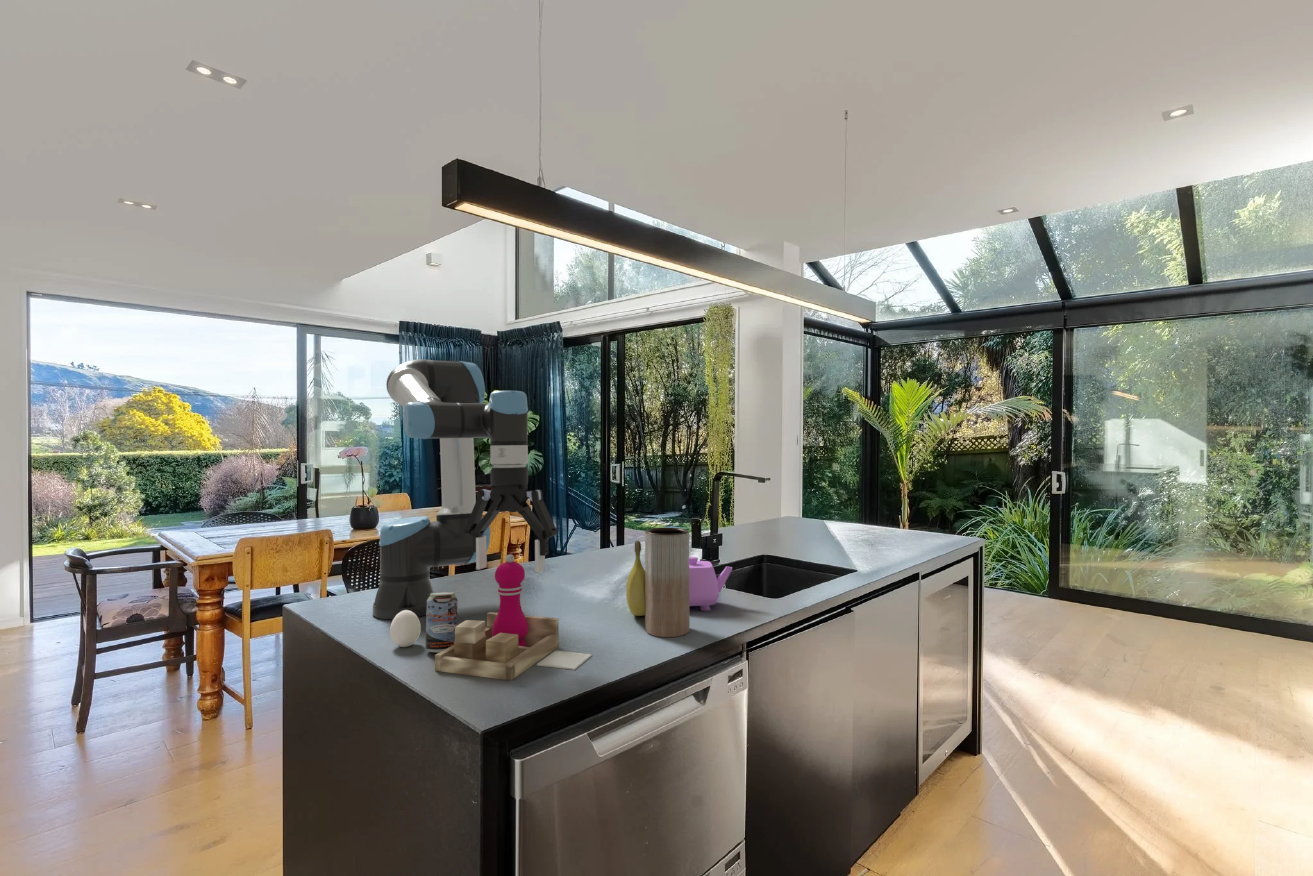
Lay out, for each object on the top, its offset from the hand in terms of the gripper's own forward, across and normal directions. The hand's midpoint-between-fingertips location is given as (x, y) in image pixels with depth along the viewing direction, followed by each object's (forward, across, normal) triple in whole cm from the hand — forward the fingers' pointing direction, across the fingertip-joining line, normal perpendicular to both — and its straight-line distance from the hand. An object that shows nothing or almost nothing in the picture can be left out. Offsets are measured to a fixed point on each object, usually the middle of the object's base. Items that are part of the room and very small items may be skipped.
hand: (510, 570), depth 130 cm
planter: (+17, +27, +23) cm, 39 cm away
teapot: (+17, +27, +45) cm, 55 cm away
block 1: (+12, -4, -8) cm, 15 cm away
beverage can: (+17, -14, -3) cm, 22 cm away
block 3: (+17, +3, -8) cm, 19 cm away
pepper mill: (+17, 0, 0) cm, 17 cm away
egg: (+17, -23, -3) cm, 29 cm away
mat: (+17, +13, -1) cm, 21 cm away
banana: (+17, +17, +33) cm, 41 cm away
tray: (+17, 0, -4) cm, 17 cm away
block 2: (+17, -4, -8) cm, 19 cm away
